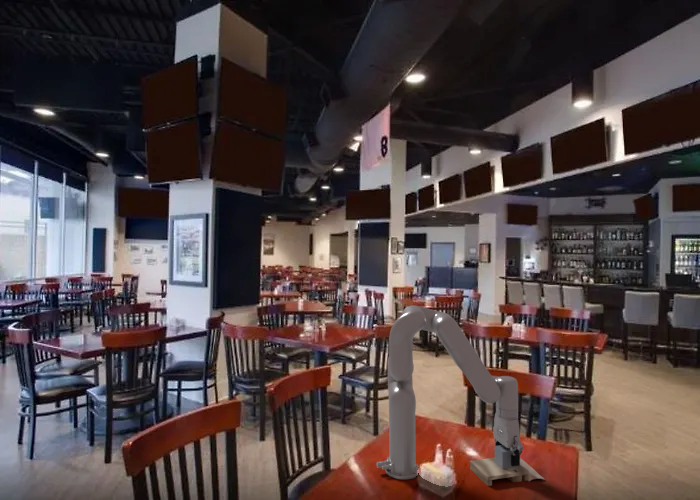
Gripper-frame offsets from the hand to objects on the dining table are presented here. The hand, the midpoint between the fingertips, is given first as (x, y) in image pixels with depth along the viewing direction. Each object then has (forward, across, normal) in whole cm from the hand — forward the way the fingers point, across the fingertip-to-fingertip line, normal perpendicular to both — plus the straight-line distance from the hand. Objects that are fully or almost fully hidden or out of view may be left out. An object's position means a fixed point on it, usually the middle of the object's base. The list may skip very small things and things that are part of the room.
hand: (507, 459), depth 161 cm
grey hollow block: (+2, 0, 0) cm, 2 cm away
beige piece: (+6, -4, +7) cm, 11 cm away
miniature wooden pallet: (+5, 0, -4) cm, 6 cm away
